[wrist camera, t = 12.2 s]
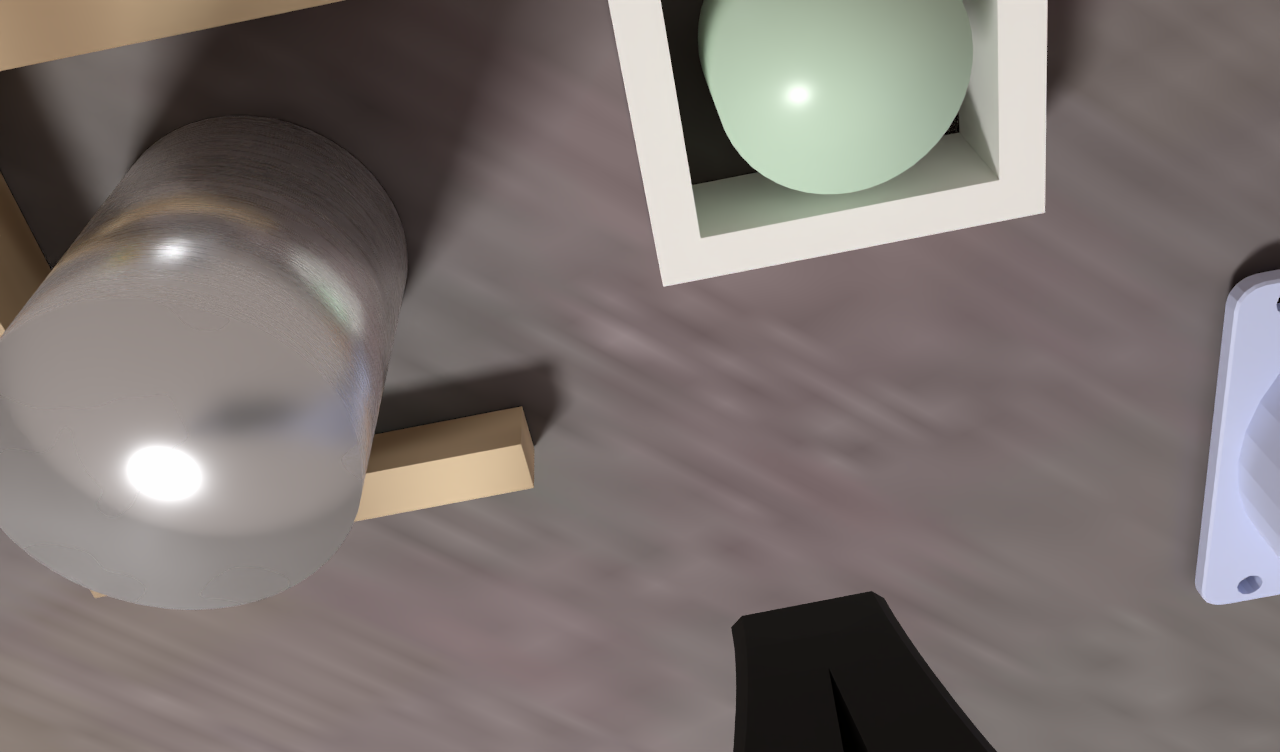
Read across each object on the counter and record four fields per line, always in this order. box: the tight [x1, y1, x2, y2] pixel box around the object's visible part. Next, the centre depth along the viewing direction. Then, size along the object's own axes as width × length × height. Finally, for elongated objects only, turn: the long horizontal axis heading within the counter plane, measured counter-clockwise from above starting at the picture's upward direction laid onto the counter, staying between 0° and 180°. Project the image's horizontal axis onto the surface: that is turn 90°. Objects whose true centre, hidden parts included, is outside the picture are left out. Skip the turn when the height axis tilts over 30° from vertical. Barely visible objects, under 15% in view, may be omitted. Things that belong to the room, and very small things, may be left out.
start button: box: [698, 0, 973, 194], centre depth 17 cm, size 4×4×2 cm
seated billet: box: [0, 116, 408, 610], centre depth 17 cm, size 5×5×6 cm
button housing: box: [608, 0, 1048, 287], centre depth 17 cm, size 6×6×2 cm
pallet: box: [0, 0, 534, 598], centre depth 16 cm, size 8×19×2 cm, turn 10°
